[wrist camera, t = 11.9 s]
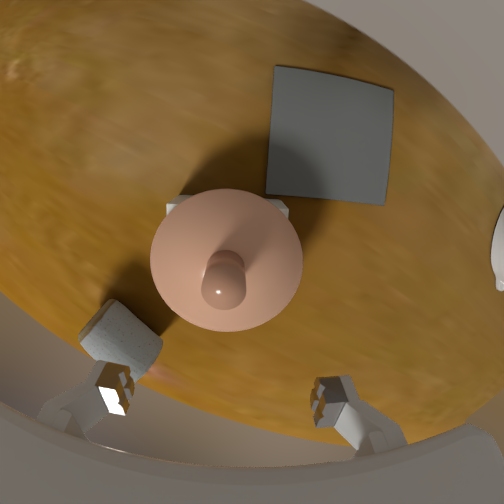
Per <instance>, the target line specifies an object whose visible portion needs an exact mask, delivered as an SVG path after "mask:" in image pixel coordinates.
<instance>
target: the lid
mask: <svg viewBox="0 0 504 504" xmlns="http://www.w3.org/2000/svg"><path fill="white" fill-rule="evenodd" d="M150 265H151V272H152V276H153V280H154V283H155V285H156V288H157V290H158V292H159V293H160V295H161V297H162V298H163V300H164V301H165V302H166V303H167V305H168V306H169V307H170V308H171V309H172V310H173V311H174V312H175V313H177V314H178V315H179V316H180V317H182V318H183V319H185V320H187V321H188V322H190V323H192V324H195V325H197V326H199V327H202V328H205V329H210V330H214V331H223V332H232V331H241V330H246V329H250V328H253V327H256V326H259V325H261V324H263V323H265V322H267V321H269V320H270V319H272V318H273V317H275V316H276V315H277V314H278V313H280V312H281V311H282V310H283V309H284V308H285V307H286V305H287V304H288V303H289V302H290V300H291V299H292V297H293V296H294V294H295V292H296V290H297V288H298V286H299V283H300V280H301V275H302V270H303V253H302V248H301V243H300V241H299V238H298V235H297V233H296V231H295V229H294V227H293V226H292V224H291V223H290V221H289V220H288V219H287V217H286V216H285V215H284V214H283V213H282V212H281V211H280V210H279V209H278V208H277V207H276V206H275V205H273V204H272V203H271V202H270V201H268V200H266V199H264V198H263V197H261V196H259V195H256V194H254V193H251V192H248V191H244V190H240V189H231V188H222V189H213V190H207V191H204V192H201V193H198V194H195V195H193V196H191V197H189V198H187V199H186V200H184V201H183V202H181V203H180V204H178V205H177V206H176V207H175V208H174V209H173V210H172V211H171V212H170V213H169V214H168V215H167V216H166V217H165V218H164V220H163V221H162V223H161V224H160V226H159V227H158V229H157V232H156V234H155V236H154V239H153V243H152V247H151V254H150Z"/></svg>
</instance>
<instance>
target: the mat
mask: <svg viewBox="0 0 504 504" xmlns="http://www.w3.org/2000/svg"><path fill="white" fill-rule="evenodd" d="M393 98H394V91H392V90H389V89H386V88H382V87H379V86H375V85H372V84H368V83H365V82H361V81H357V80H353V79H349V78H344V77H340V76H335V75H330V74H325V73H320V72H314V71H308V70H302V69H295V68H288V67H280V66H274V78H273V93H272V108H271V122H270V136H269V150H268V164H267V177H266V191H265V194H273V195H287V196H299V197H311V198H322V199H332V200H341V201H350V202H359V203H367V204H375V205H383V206H384V203H385V197H386V189H387V181H388V173H389V164H390V153H391V141H392V126H393Z"/></svg>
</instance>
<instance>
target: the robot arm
mask: <svg viewBox="0 0 504 504" xmlns="http://www.w3.org/2000/svg"><path fill="white" fill-rule="evenodd" d="M491 263H492V268H493V271H494V273H495V276H496V288H497V289H498V290H500V291H503V290H504V208H503V210H502V212H501V214H500V217H499V219H498V222H497V225H496V228H495V232H494V236H493V241H492V249H491ZM130 373H131V370H130V367H129V366H126V365H121V364H117V363H112V362H107V361H103V360H98V361H97V362H96V363H95V365H94V367H93V368H92V370H91V372H90V374H89V375H88V378H87V379H86V381H85V383H82V382H81V383H80V384H78V385H76V386H75V387H72V388H71V389H69V390H67V391H66V392H63V393H61V394H60V395H58V396H56V397H54V398H52V399H51V400H48V401H46V402H45V404H44V406H43V407H42V409H41V411H40V413H39V414H38V416H37V418H36V420H34V419H32V418H30V417H28V416H26V415H24V414H22V413H20V412H18V411H16V410H14V409H12V408H11V407H9V406H7V405H5V404H4V403H2V402H0V504H504V458H503V456H502V454H501V452H500V450H499V448H498V446H497V444H496V442H495V440H494V439H493V437H492V436H491V435H490V434H489V433H488V432H486V431H484V430H482V429H480V428H478V427H476V426H474V425H472V424H463V425H461V426H458V427H456V428H454V429H451V430H449V431H446V432H444V433H441V434H438V435H436V436H433V437H430V438H427V439H425V440H422V441H419V442H415V443H412V444H409V445H408V443H407V441H406V439H405V437H404V434H403V432H402V430H401V428H400V426H399V425H398V424H397V423H395V422H394V421H392V420H391V419H389V418H388V417H386V416H385V415H384V414H382V413H381V412H379V411H378V410H376V409H375V408H373V407H372V406H371V405H369V404H368V403H366V402H365V401H364V400H361V401H360V399H359V396H358V394H357V391H356V389H355V387H354V384H353V382H352V379H351V377H350V376H349V375H343V376H330V377H317V378H316V379H315V382H314V385H315V388H314V389H312V391H311V395H310V405H311V409H312V410H313V411H314V412H315V413H314V416H313V418H314V422H315V427H316V428H322V427H334V428H335V429H336V430H337V431H338V432H339V433H340V434H341V435H342V436H343V437H344V438H345V439H346V440H347V441H348V442H349V443H350V444H351V445H352V446H353V447H354V448H355V449H356V450H357V452H356V453H355V454H354V456H353V457H352V458H351V459H346V460H341V461H334V462H327V463H319V464H310V465H300V466H285V467H224V466H209V465H198V464H189V463H181V462H175V461H168V460H162V459H157V458H151V457H146V456H141V455H137V454H133V453H128V452H124V451H120V450H116V449H113V448H109V447H106V446H102V445H99V444H96V443H92V442H90V441H89V440H88V439H87V437H86V436H85V434H84V433H85V432H86V431H87V430H89V429H90V428H91V427H92V426H94V425H95V424H96V423H97V422H99V421H100V420H101V419H102V418H104V417H105V416H106V415H107V414H108V413H109V412H111V413H115V414H120V415H126V413H127V410H128V407H129V402H128V400H129V399H131V398H132V396H133V394H134V380H133V378H132V377H131V376H130Z"/></svg>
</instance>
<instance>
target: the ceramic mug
mask: <svg viewBox="0 0 504 504" xmlns="http://www.w3.org/2000/svg"><path fill="white" fill-rule="evenodd" d="M78 340H79V342H80V344H81V345H82V346H83V348H84V349H85V350H86V351H87V352H88V353H89V354H90V355H91V356H92V357H93V358H94V359H95V360H96V361H98V360H103V361H107V362H112V363H117V364H121V365H126V366H129V367H130V370H131V373H130V376H131V377H132V378H133V380H134V383H135V382H136V381H137V380H139V379H140V378H141V377H142V376H143V375H144V374H145V373H146V372H147V371H148V370H149V368H150V367H151V365H152V364H153V363H154V362H155V360H156V358H157V356H158V355H159V353H160V350H161V348H162V345H163V340H162V339H161V338H160V337H159V336H158V335H157V334H155V333H154V332H153V331H152V330H151V329H150V328H149V327H147V326H146V325H145V324H144V323H143V322H142V321H140V320H139V319H138V318H137V317H136V316H135V315H134V314H133V313H132V312H131V311H130V310H129V309H127V308H126V307H125V306H124V305H123V304H122V303H120V302H119V301H117V300H115V299H109V300H108V301H107V302H106V303H105V304H104V305H103V306H102V307H101V308H100V310H99V311H98V312H97V313H96V314H95V315H94V316H93V317H92V319H91V320H90V321H89V322H88V323H87V324H86V326H85V327H84V328H83V329H82V330H81V332H80V333H79V335H78Z"/></svg>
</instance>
